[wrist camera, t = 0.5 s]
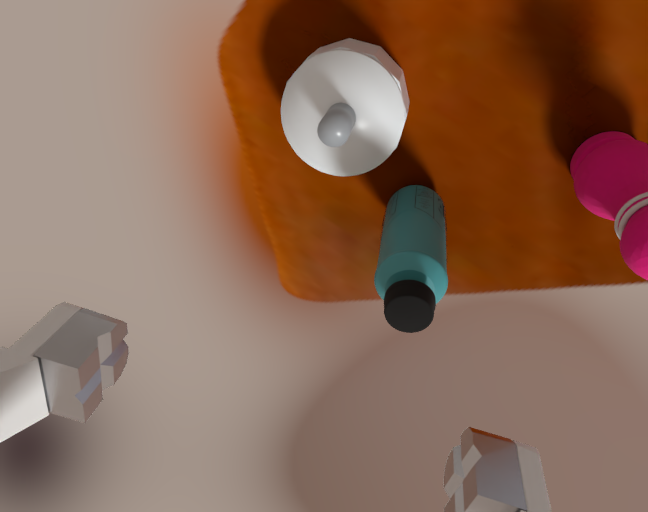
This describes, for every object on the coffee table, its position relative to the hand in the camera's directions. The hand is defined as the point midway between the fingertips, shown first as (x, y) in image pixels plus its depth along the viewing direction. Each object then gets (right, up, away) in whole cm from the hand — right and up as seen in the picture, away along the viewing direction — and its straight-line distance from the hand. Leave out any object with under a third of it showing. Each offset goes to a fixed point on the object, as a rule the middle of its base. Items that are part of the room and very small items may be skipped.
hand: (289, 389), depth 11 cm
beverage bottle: (+11, +9, +42) cm, 45 cm away
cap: (+4, +19, +37) cm, 42 cm away
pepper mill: (+29, +13, +36) cm, 48 cm away
